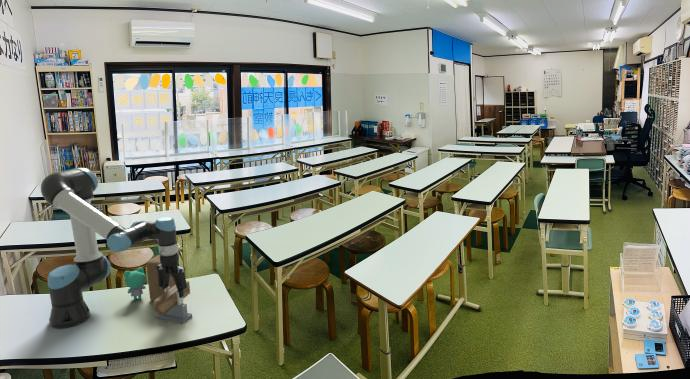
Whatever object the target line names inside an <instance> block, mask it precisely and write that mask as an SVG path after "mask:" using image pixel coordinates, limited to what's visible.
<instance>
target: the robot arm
mask: <svg viewBox="0 0 690 379" xmlns="http://www.w3.org/2000/svg"><path fill="white" fill-rule="evenodd" d="M98 186H99V182H98V178H97V176H96V175H95V173H94V172H92V171H91V170H90V169H89V168H86V167H76V168H71V169H66V170H63V171H57V172H56V171H55V172H52V173H50V174H49V175H47V176H45V177H44V178H43V180H42V181H41V184H40V193H41V196H42V197H43V199H44V200H45V202H46V203H47V204H48V205H50V206H51V207H53V208H55V209H60V210H62V211H63V212H65V213H66V214H68V215H69V217H70V222H71V229H72V234H73V240H74V247H75V253H76V255H75V257H74V258H73V263H74V264H65V265H63V266H62V265H61V266H58V267H56V268H55V269H53V270H52V271H50V272H49V274H48V275H47V287H48V291H49V292H48V293H49V297H50V302H51V303H50V304H51V311H50V315H49V319H48V321H49V322H48V323H49V325H50V327H51V328H54V329H66V328H71V327H74V326H77V325H78V326H79V324H82V323H83V322H84V323H85V322H86V321H87V320H89V318H90V316H91V312H90V307H89V306H88V305H87V302H85V300H84V296H83V291H85V290H87V289H88V288H91V287H92V286H94V285H97V284H99V283H101V282H102V281H103V280H105V279H106V278H108V276H109V275H110V273H111V270H112V269H111V268H112V266H111V262H110V260H108V258H107V257H106V256H105V255H104V254H103V252H102V251H101V252H100V250H99V248H98V247H99V246H98V242H97V240H98V239H97V235H99V236H100V237H102V238H103V239H104V240H106V245H107V247H108V248H109V250H110V251H111V252H113V253H121V252H124V251H127V250H129V249H130V248H133V247H134V246H137V245H139V244H141V243H143V242H145V241H148V240H152V241H157V246H158V255H160V263H161V264H159V265H158V266H156V268H157V271H158V283H159V287H162V288H163V291H164V293H165V292H166V291H168V290H169V289H170V287H168V286H169V285H168V284H169V278H170V274H171V276H172V277H173V279H174V281H175V284H176V287H177V291H176V293H177V302H178V305H180V304H182V303H184V299H183V296H184V293H183V290H184V289H186V288H187V284H186V281H187V279H186V273H185V271H186V267H185V266H183V267H181V266H180V264H179V260H180V255H179V247H178V246H179V245H178V240H177V229H176V228H177V227H176V222H175V219H174V218H173V217H171V216H161V217H158V218H157V219H155V221H146V220H136V221H134V222H132V224H131V225H130V227H128V228H126V227H124V226H122V225H120V224H119V223H117V222H116V221H115V220H114V219H113V218H111V217H109V216H107V215H105V214H104V213H103V212H102V211H100V210H99V209H97V208H96V207H94V206H92V202H91V201H92V200H93V199H94V197H95V196H94V192H95V191H96V190H97V188H98ZM161 282H162V283H161Z"/></svg>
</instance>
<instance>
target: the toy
mask: <svg viewBox="0 0 690 379" xmlns="http://www.w3.org/2000/svg"><path fill="white" fill-rule="evenodd" d="M123 275H124V283H125V285H126V286H127V288H128V290H127V293H128V294H130V297H133V301H137V300H138V299H142V295H143V294H144V292H143V290H145V289H146V287H147V286H146V285H145V283H146V282H147V274H145V269H144V268H143V267H141V266H139V267H138V268H136V270H133V271H130V270H125V271H124V273H123Z"/></svg>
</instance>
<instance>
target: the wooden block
mask: <svg viewBox="0 0 690 379" xmlns="http://www.w3.org/2000/svg"><path fill="white" fill-rule="evenodd" d="M159 264H161V263H160V254H157V255H155V256H154V257H153V258H151V259H149V260H147V261H146V264H145V266H146V273H147V274H146V276H147V282H148V290H149V299H150V301H154V300H156V299H157V298H158V297H160V296H161V295H162V294H164V291H163V288H162V287H159V283H158V271H157V268H156V266H158V265H159ZM161 283H162V282H161ZM168 285H169V286H168V287H170V288H172V287H173V286H175V285H176V284H175V281H174V279H173V277H172V276H171V274H170V278H169V284H168Z"/></svg>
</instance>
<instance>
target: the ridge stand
mask: <svg viewBox="0 0 690 379" xmlns="http://www.w3.org/2000/svg"><path fill="white" fill-rule="evenodd" d="M187 306H188V304H187V303H184V302H183V303H182V304H180V305H178V304H176V305H175V306H174V307H173V308H172V309H170V310H169V311H168V312H167V313H165V314H164V315H160V314H156V318H157V319H161V320H165V321H169V322H174V323H179V324H182V325H183V324H185V323H186V322H187V321H189V320H190V319H192V318H193V313H189V312H188V307H187Z"/></svg>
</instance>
